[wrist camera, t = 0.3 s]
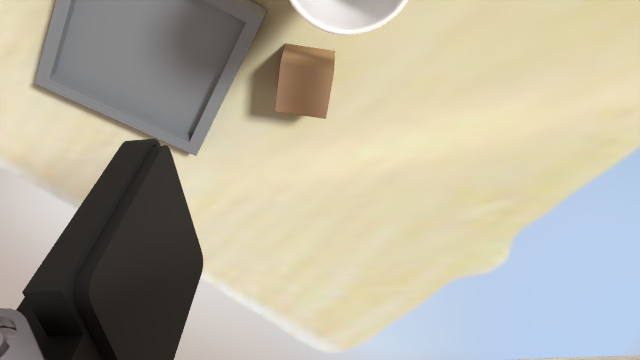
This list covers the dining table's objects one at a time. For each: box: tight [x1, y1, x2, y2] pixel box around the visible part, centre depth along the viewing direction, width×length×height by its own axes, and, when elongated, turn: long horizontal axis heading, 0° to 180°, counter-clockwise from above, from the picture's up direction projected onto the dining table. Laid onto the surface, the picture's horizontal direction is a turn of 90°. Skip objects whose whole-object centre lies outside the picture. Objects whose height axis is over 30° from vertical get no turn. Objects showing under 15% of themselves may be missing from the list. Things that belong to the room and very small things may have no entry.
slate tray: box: [34, 0, 267, 156], centre depth 45 cm, size 14×14×2 cm
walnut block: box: [275, 44, 335, 119], centre depth 45 cm, size 4×4×4 cm
